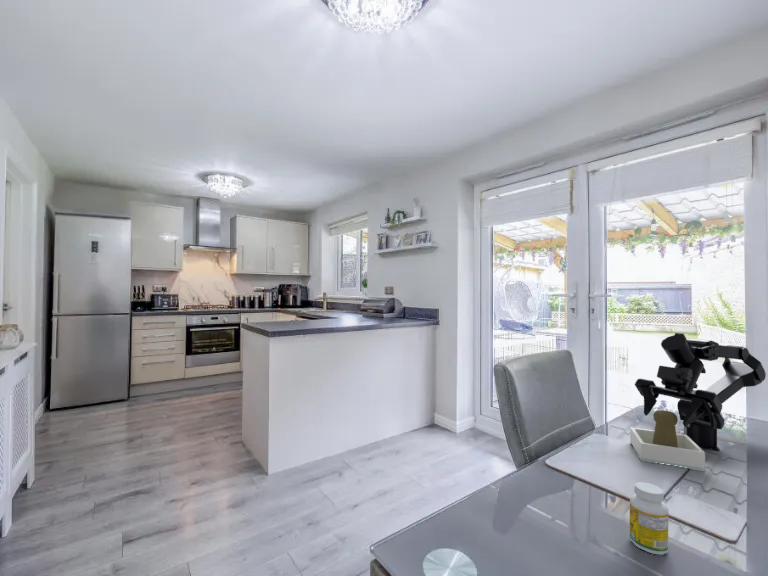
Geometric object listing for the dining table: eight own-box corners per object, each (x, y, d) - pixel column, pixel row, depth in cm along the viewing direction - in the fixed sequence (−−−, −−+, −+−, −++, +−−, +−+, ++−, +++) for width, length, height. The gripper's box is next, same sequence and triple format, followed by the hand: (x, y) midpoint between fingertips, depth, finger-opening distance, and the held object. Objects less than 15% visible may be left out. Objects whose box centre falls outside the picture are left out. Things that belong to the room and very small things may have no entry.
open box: (686, 451, 103) (686, 434, 103) (705, 471, 91) (705, 452, 91) (630, 442, 109) (630, 427, 109) (640, 460, 97) (640, 443, 97)
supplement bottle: (667, 561, 59) (667, 500, 59) (627, 546, 63) (627, 488, 63) (669, 544, 63) (669, 487, 64) (631, 531, 67) (632, 477, 67)
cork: (669, 448, 103) (669, 408, 103) (685, 458, 97) (685, 415, 97) (646, 447, 103) (646, 407, 104) (660, 456, 97) (660, 414, 98)
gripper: (638, 350, 111) (615, 392, 106) (716, 361, 94) (694, 410, 89) (653, 375, 115) (631, 416, 109) (731, 389, 98) (710, 438, 93)
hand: (663, 419), depth 100 cm, fingers open, 9 cm apart
